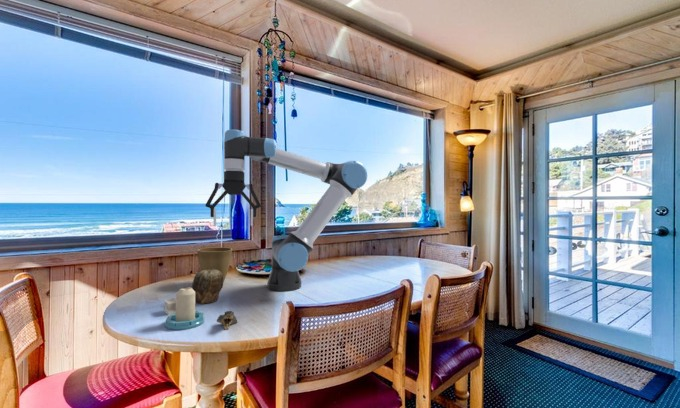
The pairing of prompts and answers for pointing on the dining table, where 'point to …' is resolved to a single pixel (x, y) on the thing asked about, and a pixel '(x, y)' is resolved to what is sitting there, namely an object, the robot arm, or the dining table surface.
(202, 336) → the dining table surface
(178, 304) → the candle
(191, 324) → the candle dish
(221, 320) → the shark head
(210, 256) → the plant pot
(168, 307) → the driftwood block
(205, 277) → the brown rough lump
